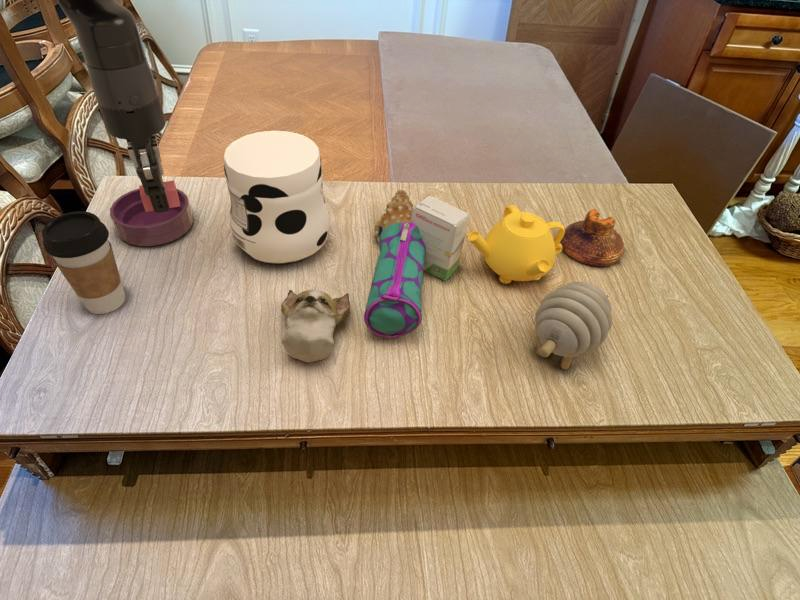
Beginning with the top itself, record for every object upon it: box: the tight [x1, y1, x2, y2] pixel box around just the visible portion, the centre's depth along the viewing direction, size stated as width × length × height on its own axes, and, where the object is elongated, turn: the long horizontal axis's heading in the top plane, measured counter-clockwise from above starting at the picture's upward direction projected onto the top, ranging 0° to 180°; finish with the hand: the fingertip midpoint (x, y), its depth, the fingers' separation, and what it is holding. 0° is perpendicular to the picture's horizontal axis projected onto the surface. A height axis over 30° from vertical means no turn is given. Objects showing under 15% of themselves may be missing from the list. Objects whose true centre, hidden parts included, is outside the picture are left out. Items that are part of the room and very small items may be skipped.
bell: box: [560, 208, 625, 267], centre depth 99 cm, size 12×12×7 cm
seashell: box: [374, 189, 414, 243], centre depth 101 cm, size 9×8×10 cm
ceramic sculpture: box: [280, 289, 351, 363], centre depth 80 cm, size 11×9×15 cm
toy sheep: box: [534, 281, 613, 370], centre depth 79 cm, size 11×17×11 cm, turn 145°
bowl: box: [109, 188, 194, 247], centre depth 98 cm, size 13×13×4 cm
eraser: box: [138, 179, 180, 212], centre depth 82 cm, size 5×3×3 cm, turn 112°
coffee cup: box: [41, 210, 126, 315], centre depth 80 cm, size 8×8×15 cm
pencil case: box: [363, 222, 426, 339], centre depth 86 cm, size 21×9×10 cm, turn 175°
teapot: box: [467, 204, 566, 285], centre depth 92 cm, size 14×14×11 cm
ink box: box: [411, 195, 471, 282], centre depth 92 cm, size 9×5×12 cm, turn 55°
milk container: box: [223, 130, 331, 265], centre depth 92 cm, size 17×17×18 cm
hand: (161, 204), depth 83 cm, fingers closed on eraser, 2 cm apart
